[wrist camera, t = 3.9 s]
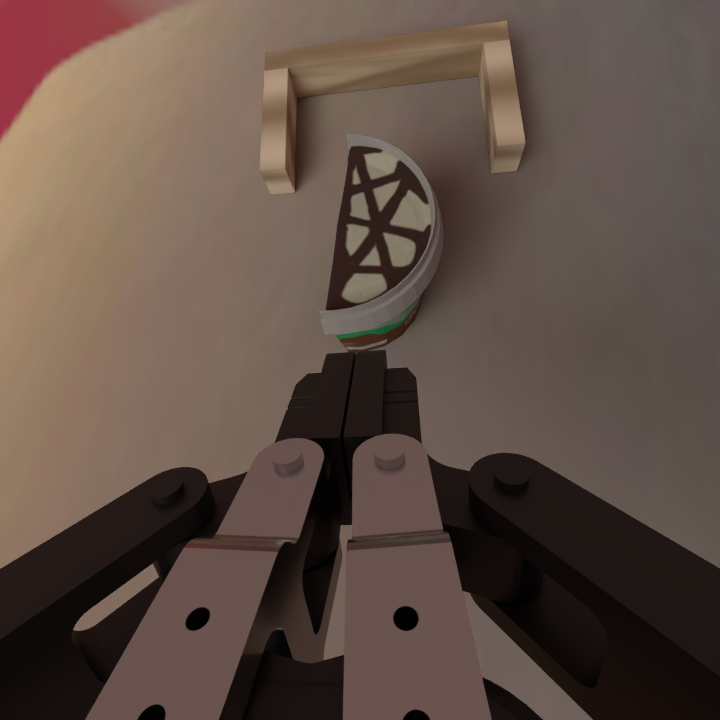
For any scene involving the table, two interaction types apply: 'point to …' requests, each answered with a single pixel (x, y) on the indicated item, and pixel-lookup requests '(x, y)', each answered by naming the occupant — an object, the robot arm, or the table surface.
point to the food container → (381, 246)
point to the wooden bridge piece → (391, 68)
